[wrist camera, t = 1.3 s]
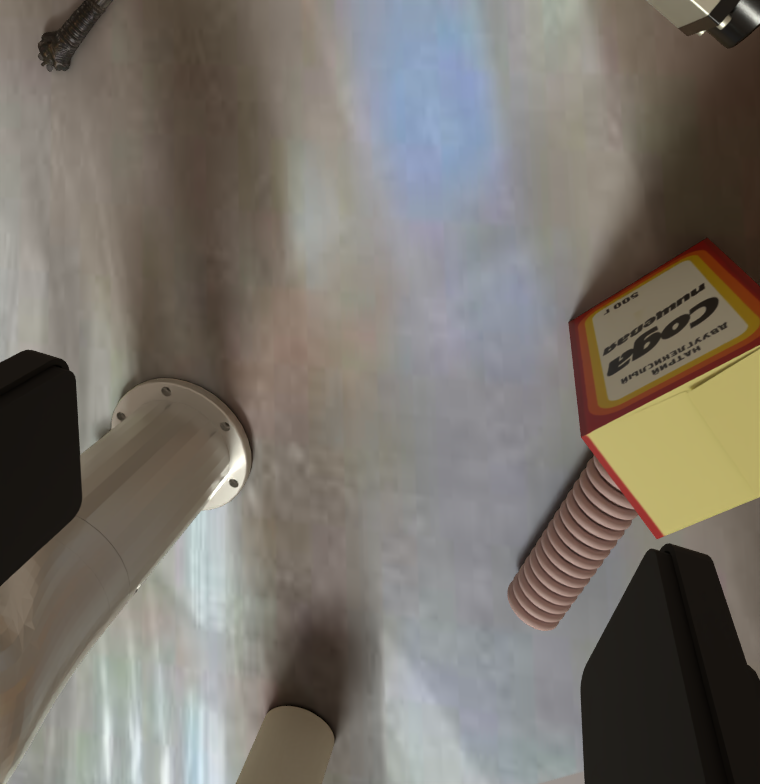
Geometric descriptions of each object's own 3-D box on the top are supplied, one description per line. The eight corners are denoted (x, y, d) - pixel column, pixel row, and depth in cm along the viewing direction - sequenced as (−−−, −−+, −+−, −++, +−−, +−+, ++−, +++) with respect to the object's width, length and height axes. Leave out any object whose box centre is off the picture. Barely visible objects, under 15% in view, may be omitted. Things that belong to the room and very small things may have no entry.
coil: (613, 439, 40) (497, 617, 49) (682, 472, 40) (552, 646, 48) (613, 409, 44) (506, 579, 53) (676, 439, 44) (557, 605, 52)
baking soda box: (620, 396, 43) (657, 544, 29) (568, 322, 42) (581, 441, 28) (760, 321, 39) (880, 453, 25) (707, 237, 38) (803, 327, 24)
